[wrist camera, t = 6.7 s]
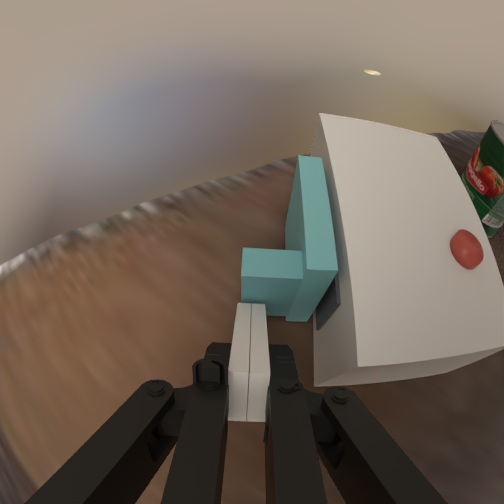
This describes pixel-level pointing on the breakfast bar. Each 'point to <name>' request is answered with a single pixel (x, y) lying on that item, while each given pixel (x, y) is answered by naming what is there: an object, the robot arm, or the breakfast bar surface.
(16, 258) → the breakfast bar surface
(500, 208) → the canned tomato
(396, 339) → the block
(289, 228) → the door
